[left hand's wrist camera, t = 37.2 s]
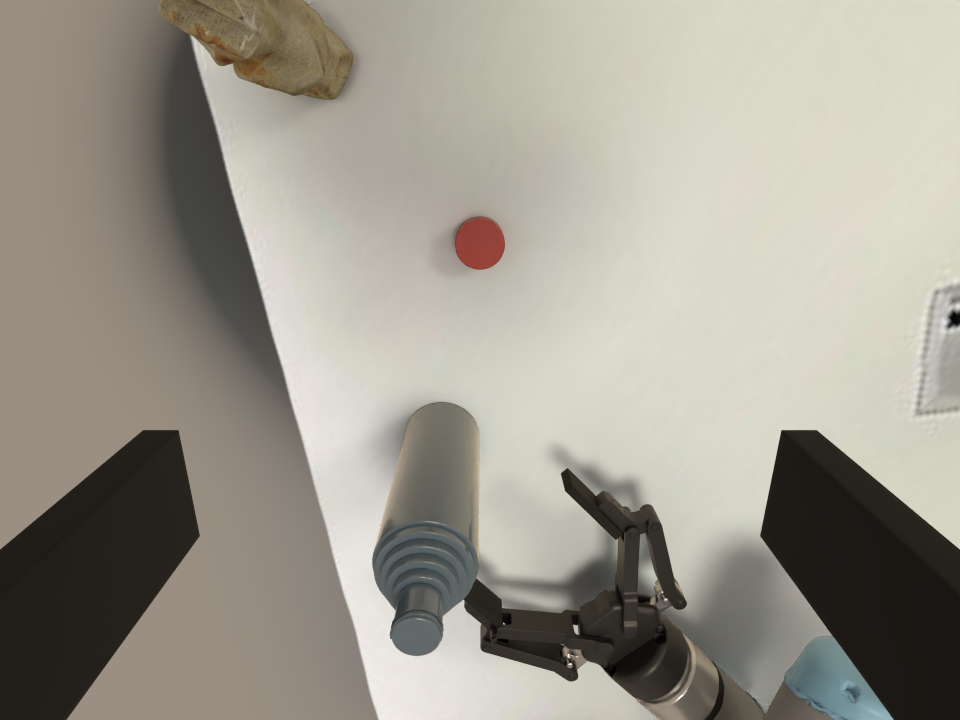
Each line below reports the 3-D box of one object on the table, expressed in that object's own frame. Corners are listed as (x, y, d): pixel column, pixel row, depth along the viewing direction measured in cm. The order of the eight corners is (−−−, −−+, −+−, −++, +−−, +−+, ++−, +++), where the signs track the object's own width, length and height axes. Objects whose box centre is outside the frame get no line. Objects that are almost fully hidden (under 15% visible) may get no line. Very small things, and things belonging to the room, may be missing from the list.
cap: (453, 261, 47) (452, 266, 45) (459, 213, 46) (458, 216, 44) (499, 267, 48) (500, 272, 46) (506, 220, 46) (508, 223, 44)
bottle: (478, 401, 52) (477, 587, 30) (479, 467, 54) (479, 683, 32) (403, 402, 52) (348, 588, 30) (407, 467, 54) (358, 684, 32)
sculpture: (281, -12, 40) (175, -98, 26) (371, 48, 42) (317, -3, 28) (247, 66, 42) (131, 25, 28) (335, 122, 43) (266, 109, 29)
